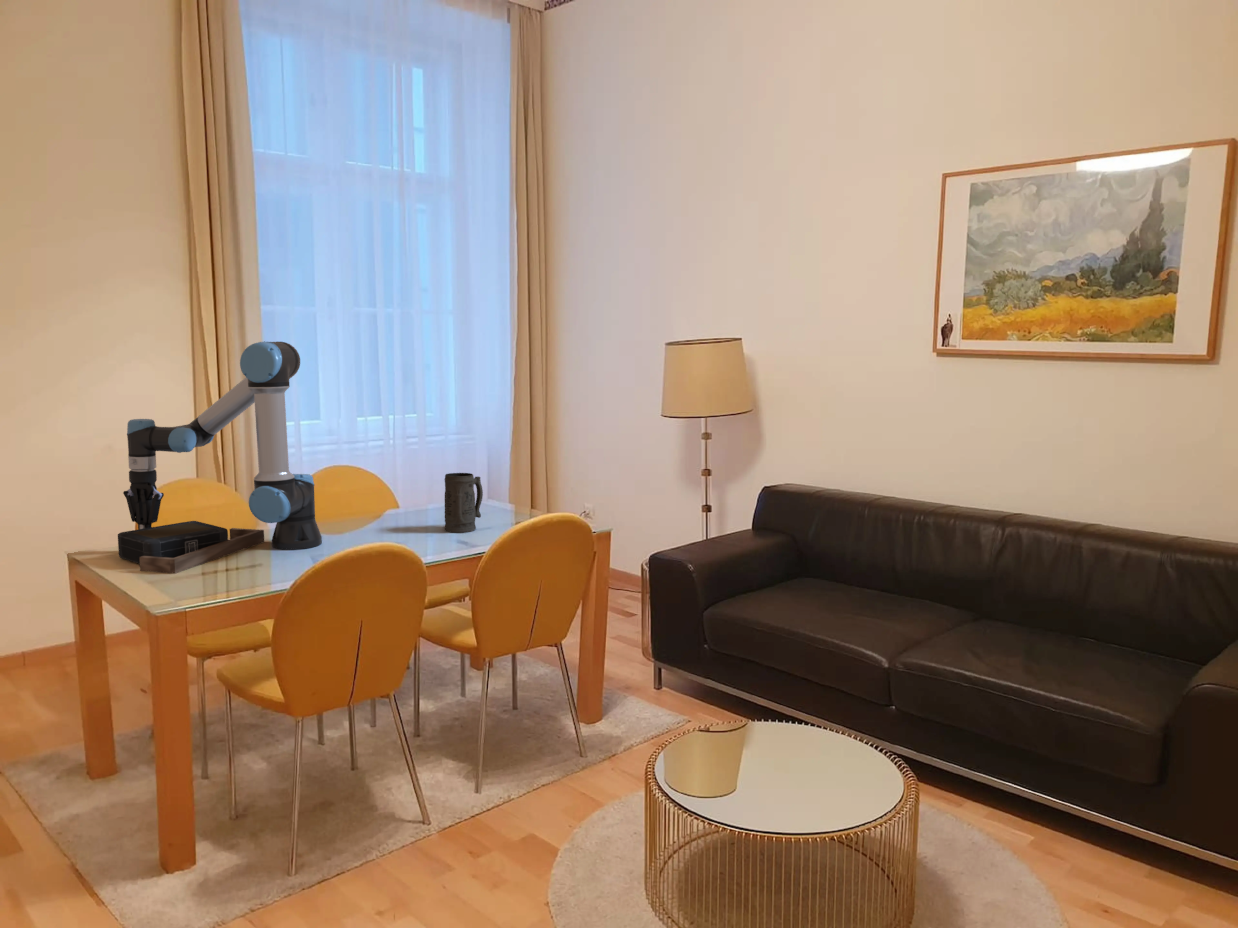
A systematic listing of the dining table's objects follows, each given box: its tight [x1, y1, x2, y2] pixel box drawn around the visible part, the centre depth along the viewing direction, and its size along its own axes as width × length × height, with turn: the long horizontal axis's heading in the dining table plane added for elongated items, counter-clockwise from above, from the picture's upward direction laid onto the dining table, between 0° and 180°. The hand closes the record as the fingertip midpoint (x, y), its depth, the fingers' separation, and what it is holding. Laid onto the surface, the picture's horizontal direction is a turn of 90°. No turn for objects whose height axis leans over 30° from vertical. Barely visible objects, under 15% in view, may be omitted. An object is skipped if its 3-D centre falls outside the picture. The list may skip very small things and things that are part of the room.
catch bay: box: [139, 527, 265, 574], centre depth 278 cm, size 12×41×4 cm, turn 166°
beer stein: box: [444, 472, 484, 534], centre depth 318 cm, size 15×11×20 cm
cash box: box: [117, 520, 229, 565], centre depth 277 cm, size 25×20×8 cm
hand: (145, 544), depth 283 cm, fingers closed
